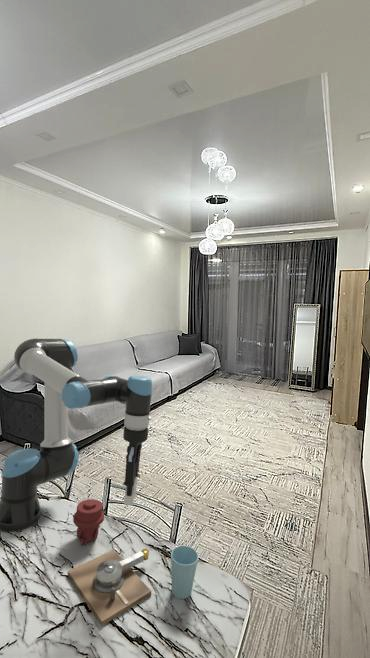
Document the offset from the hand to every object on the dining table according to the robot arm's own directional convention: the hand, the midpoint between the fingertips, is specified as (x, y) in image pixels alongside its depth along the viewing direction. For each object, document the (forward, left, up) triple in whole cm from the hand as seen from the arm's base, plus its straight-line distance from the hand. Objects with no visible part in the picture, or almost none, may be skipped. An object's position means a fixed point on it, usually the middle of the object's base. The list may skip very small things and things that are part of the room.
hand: (130, 501), depth 102 cm
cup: (+20, +6, -19) cm, 28 cm away
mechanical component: (-15, -5, -19) cm, 25 cm away
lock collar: (+5, -4, -17) cm, 18 cm away
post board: (+6, -9, -19) cm, 21 cm away
